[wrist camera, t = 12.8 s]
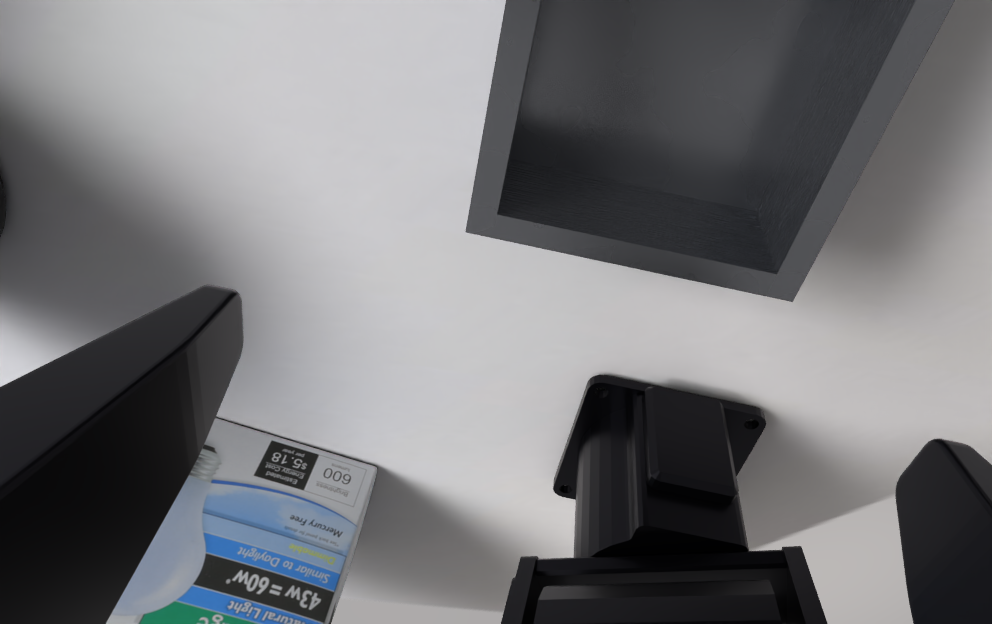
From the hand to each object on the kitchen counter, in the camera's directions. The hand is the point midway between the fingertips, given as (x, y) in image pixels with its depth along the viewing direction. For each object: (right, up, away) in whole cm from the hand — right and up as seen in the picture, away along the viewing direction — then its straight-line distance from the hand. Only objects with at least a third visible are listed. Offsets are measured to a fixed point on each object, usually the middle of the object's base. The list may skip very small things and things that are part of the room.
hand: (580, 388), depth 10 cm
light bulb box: (-12, -6, +23) cm, 27 cm away
